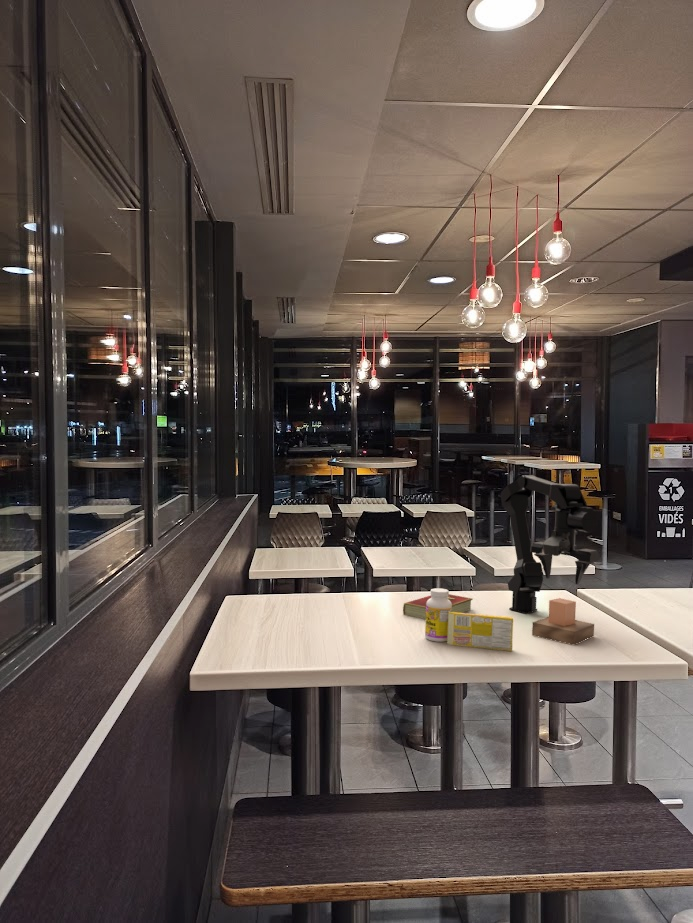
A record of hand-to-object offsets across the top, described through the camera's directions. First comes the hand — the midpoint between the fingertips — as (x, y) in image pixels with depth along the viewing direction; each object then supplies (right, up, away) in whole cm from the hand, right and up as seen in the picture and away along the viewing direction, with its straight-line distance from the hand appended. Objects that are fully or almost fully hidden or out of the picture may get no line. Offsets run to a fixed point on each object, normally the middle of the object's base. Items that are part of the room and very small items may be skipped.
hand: (562, 581), depth 196 cm
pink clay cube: (-4, -9, -11) cm, 15 cm away
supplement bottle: (-39, -12, -18) cm, 44 cm away
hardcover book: (-34, -12, +11) cm, 38 cm away
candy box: (-29, -13, -24) cm, 40 cm away
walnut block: (-3, -13, -11) cm, 18 cm away
